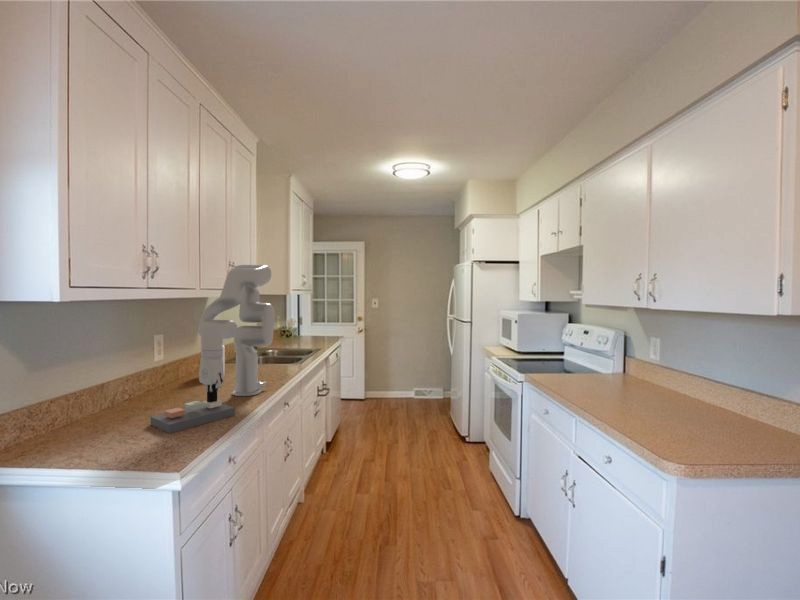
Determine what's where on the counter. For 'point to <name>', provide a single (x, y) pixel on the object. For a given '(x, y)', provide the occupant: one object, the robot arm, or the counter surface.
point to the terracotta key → (174, 412)
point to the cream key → (212, 404)
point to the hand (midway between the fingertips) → (212, 401)
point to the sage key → (194, 405)
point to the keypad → (192, 418)
